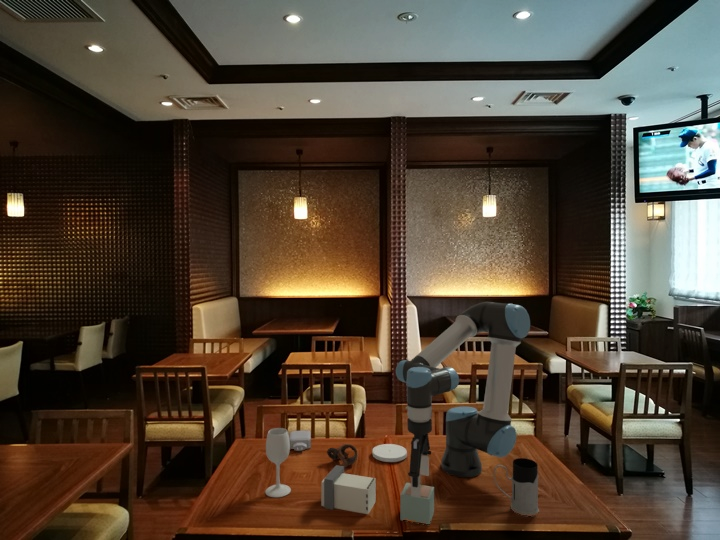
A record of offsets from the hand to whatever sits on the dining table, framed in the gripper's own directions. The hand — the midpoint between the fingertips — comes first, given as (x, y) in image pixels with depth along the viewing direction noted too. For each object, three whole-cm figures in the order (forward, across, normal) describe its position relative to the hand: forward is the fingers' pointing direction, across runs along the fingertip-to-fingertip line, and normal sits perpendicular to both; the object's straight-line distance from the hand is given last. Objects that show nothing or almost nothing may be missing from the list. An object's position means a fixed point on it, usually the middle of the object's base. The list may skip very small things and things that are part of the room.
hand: (420, 485), depth 147 cm
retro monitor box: (+10, +1, -1) cm, 10 cm away
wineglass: (+9, +1, -50) cm, 51 cm away
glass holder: (+11, -14, +28) cm, 33 cm away
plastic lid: (+11, -39, -21) cm, 46 cm away
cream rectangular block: (+10, +1, -24) cm, 26 cm away
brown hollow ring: (+10, -27, -37) cm, 47 cm away
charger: (+10, -35, -59) cm, 69 cm away
